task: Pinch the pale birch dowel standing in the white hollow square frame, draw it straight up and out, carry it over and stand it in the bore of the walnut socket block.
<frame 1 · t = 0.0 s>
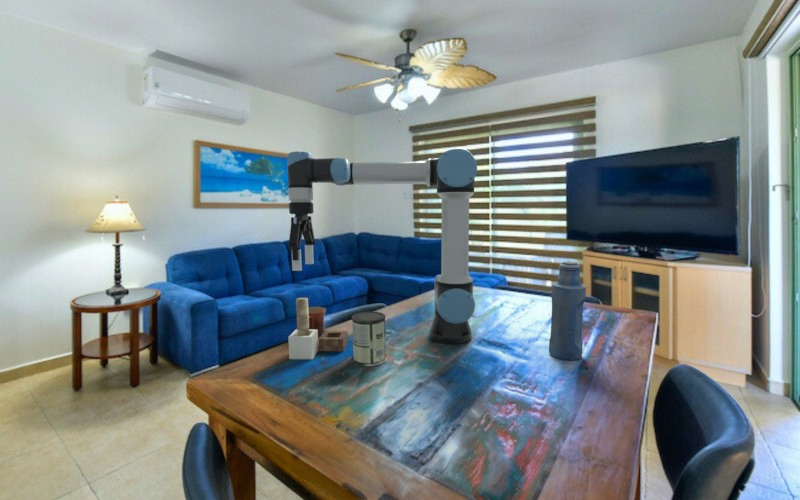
hand: (303, 267, 123), 28 cm above the table, fingers open, 13 cm apart
coffee can: (369, 360, 117), on the table
socket block: (334, 349, 126), on the table
mug: (312, 339, 137), on the table
white hollow square frame: (304, 357, 120), on the table
dowel: (304, 354, 119), point 1 cm above the table, touching white hollow square frame
bottle: (565, 355, 120), on the table
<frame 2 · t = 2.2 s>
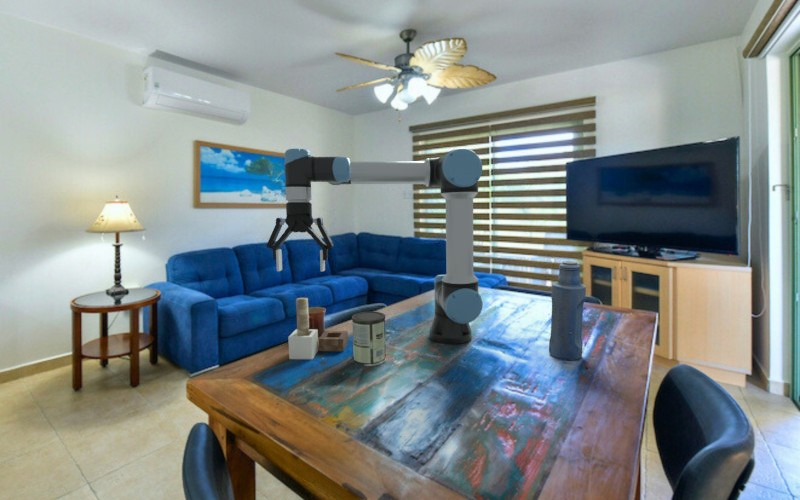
hand: (301, 270, 117), 28 cm above the table, fingers open, 13 cm apart
nothing on the table moved.
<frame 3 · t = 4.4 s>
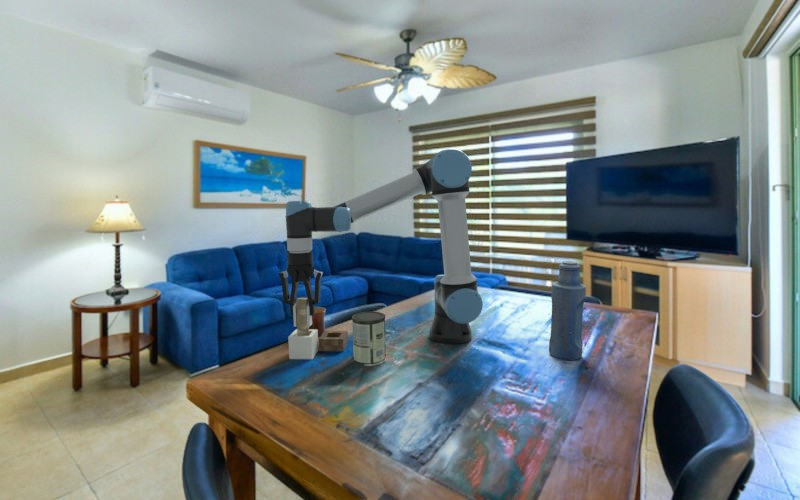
hand: (303, 325, 118), 11 cm above the table, fingers closed on dowel, 3 cm apart
dowel: (304, 354, 119), point 1 cm above the table, touching white hollow square frame, gripper
everything else where it was.
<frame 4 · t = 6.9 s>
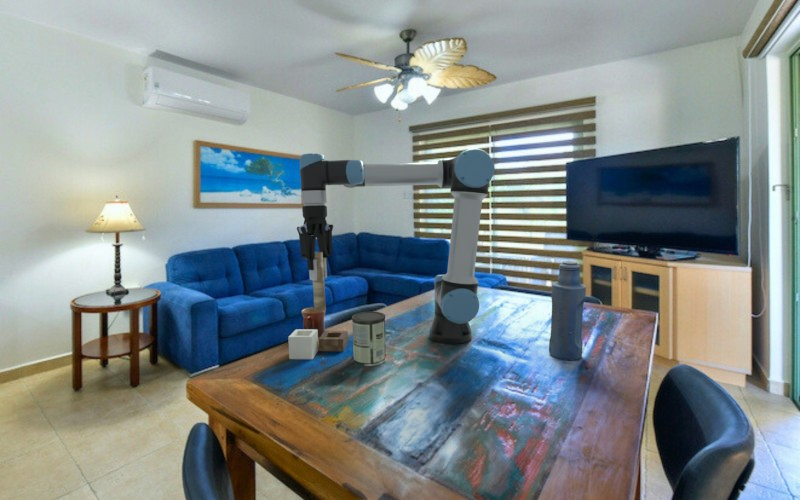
hand: (318, 278, 120), 25 cm above the table, fingers closed on dowel, 3 cm apart
dowel: (320, 308, 121), point 15 cm above the table, touching gripper
everything else where it was.
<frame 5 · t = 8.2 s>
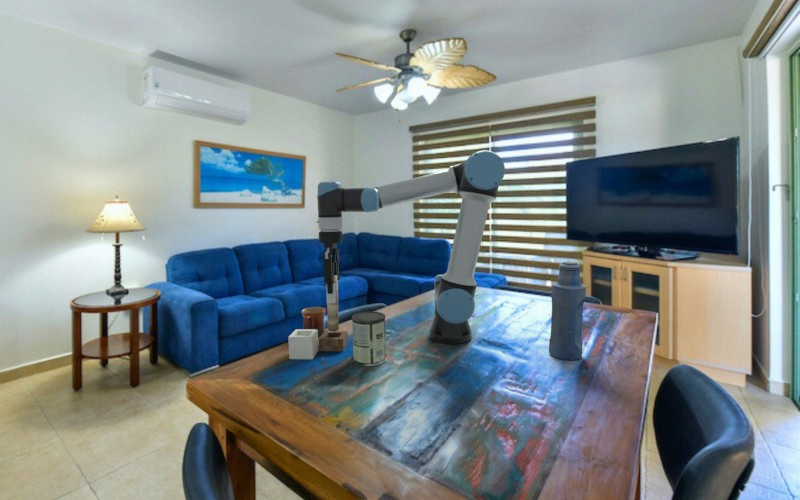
hand: (332, 301, 124), 17 cm above the table, fingers closed on dowel, 3 cm apart
dowel: (333, 329, 125), point 7 cm above the table, touching gripper
everything else where it was.
when the fingers open (13 cm above the table, at t = 9.2 s): dowel drops 2 cm, resting on socket block.
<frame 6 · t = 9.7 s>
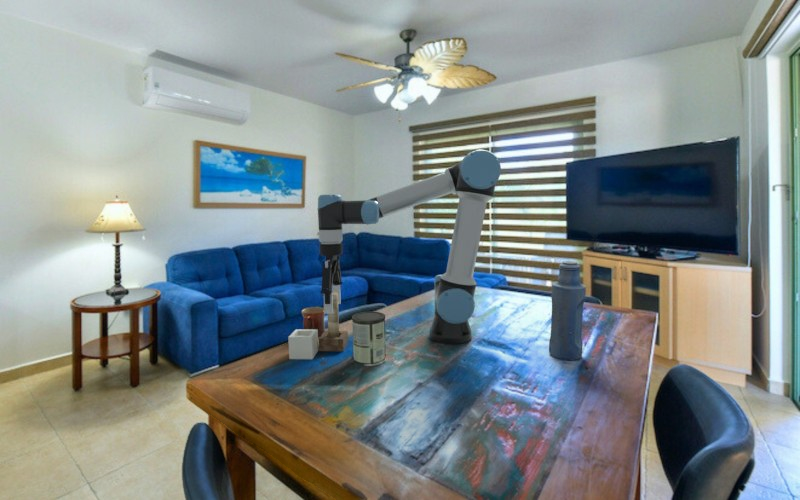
hand: (332, 308, 125), 14 cm above the table, fingers open, 11 cm apart
dowel: (333, 346, 126), point 1 cm above the table, touching socket block
everything else where it was.
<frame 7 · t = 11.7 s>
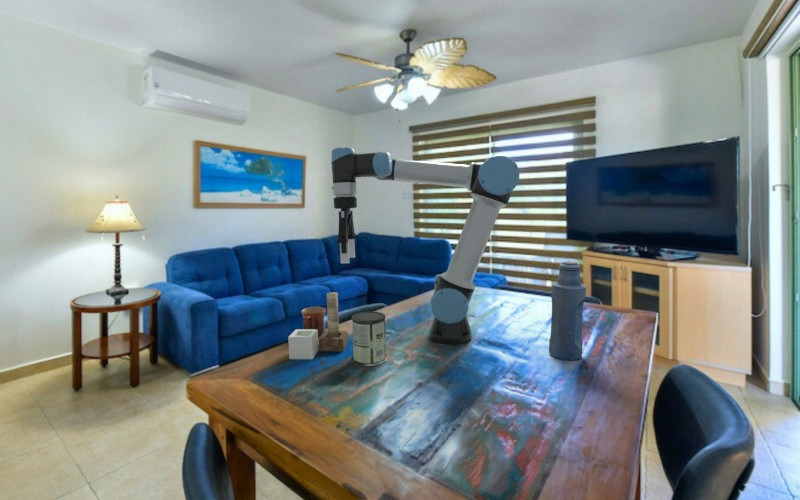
hand: (348, 260, 126), 30 cm above the table, fingers open, 13 cm apart
nothing on the table moved.
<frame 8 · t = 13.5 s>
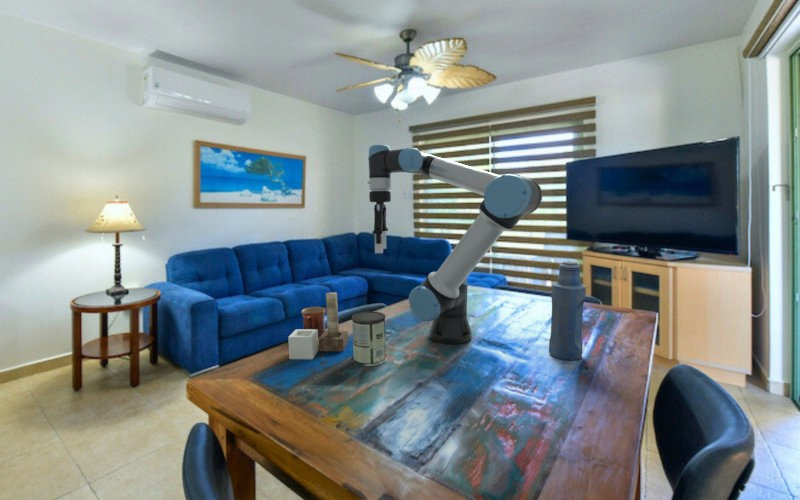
hand: (380, 250, 135), 32 cm above the table, fingers open, 13 cm apart
nothing on the table moved.
at the end: dowel 0.1 cm off-centre on the socket block, point 1.0 cm above the socket block's base; dowel tilted 0°; the gripper is holding nothing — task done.
